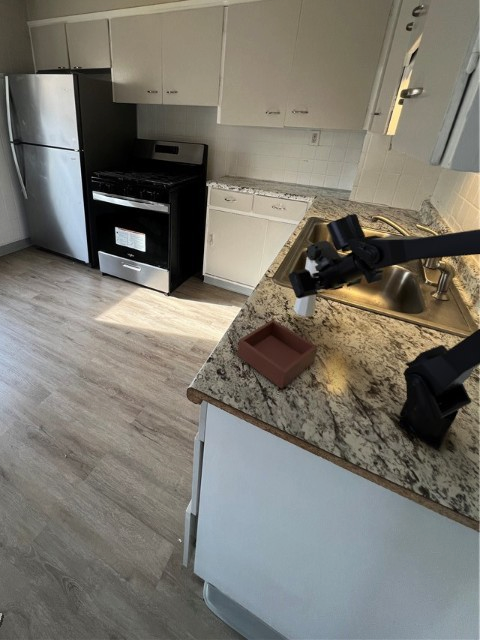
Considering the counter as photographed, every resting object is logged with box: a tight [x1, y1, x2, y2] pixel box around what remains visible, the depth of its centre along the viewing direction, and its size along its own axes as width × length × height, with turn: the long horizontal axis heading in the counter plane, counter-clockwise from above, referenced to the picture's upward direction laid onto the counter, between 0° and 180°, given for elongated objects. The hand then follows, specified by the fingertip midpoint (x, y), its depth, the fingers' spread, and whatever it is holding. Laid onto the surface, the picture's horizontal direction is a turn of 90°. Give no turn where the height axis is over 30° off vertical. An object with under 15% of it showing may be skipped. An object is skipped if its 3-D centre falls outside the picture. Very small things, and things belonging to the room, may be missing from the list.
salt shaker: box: [293, 273, 317, 318], centre depth 82 cm, size 5×5×11 cm
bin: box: [236, 319, 319, 390], centre depth 72 cm, size 13×13×5 cm
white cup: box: [304, 256, 325, 293], centre depth 101 cm, size 8×8×10 cm
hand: (304, 287), depth 83 cm, fingers closed on salt shaker, 4 cm apart
